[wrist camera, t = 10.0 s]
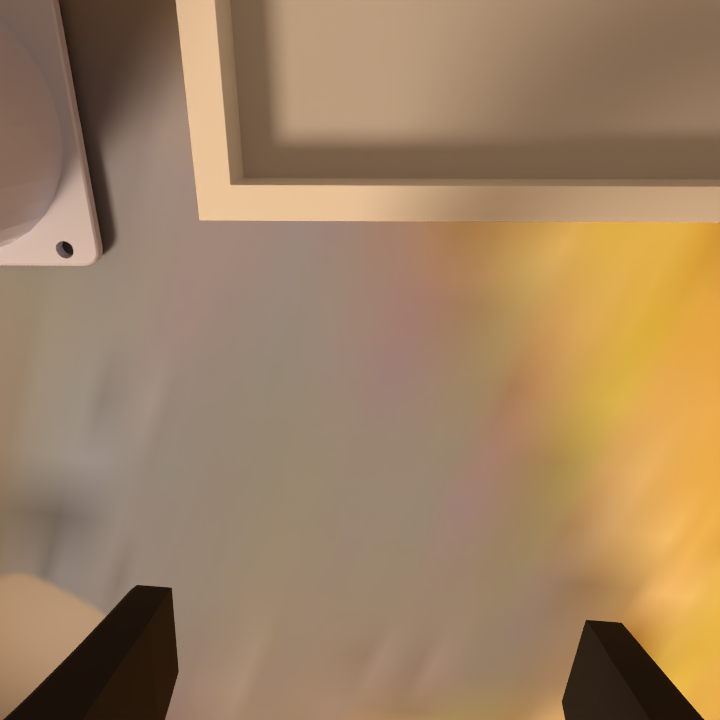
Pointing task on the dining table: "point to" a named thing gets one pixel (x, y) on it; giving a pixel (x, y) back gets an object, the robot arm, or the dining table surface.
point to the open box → (454, 109)
